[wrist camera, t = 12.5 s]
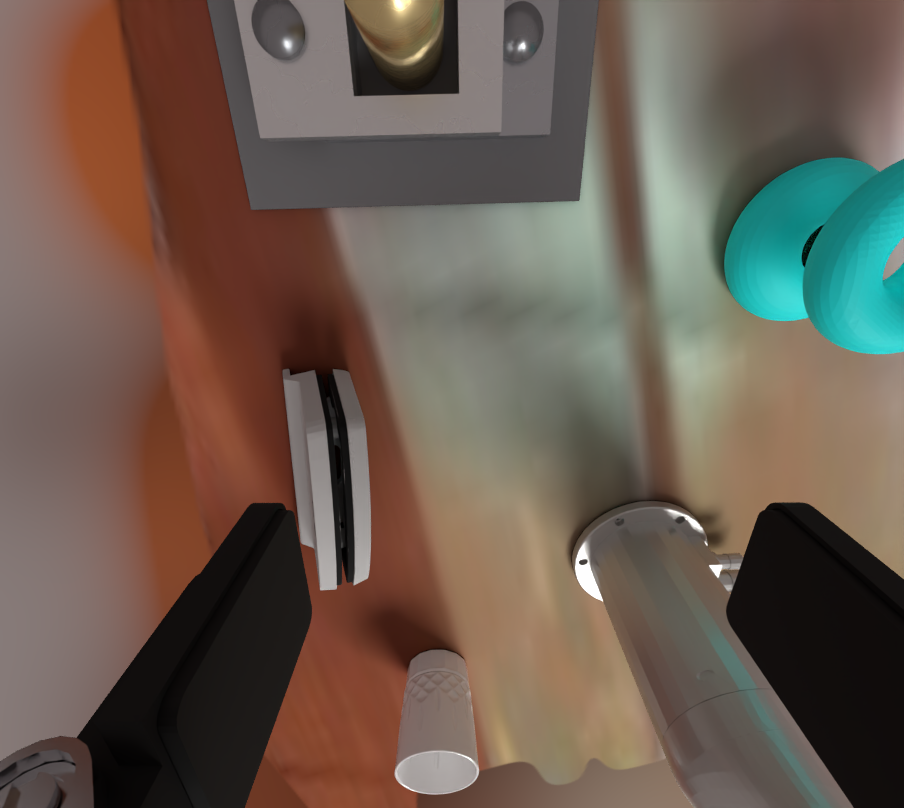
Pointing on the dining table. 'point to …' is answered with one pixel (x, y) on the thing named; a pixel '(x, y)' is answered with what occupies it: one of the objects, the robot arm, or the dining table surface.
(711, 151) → the dining table surface
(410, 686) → the white cup
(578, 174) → the mat
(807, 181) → the donuts
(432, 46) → the brass pin
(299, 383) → the white slotted device
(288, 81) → the grey block with hole
